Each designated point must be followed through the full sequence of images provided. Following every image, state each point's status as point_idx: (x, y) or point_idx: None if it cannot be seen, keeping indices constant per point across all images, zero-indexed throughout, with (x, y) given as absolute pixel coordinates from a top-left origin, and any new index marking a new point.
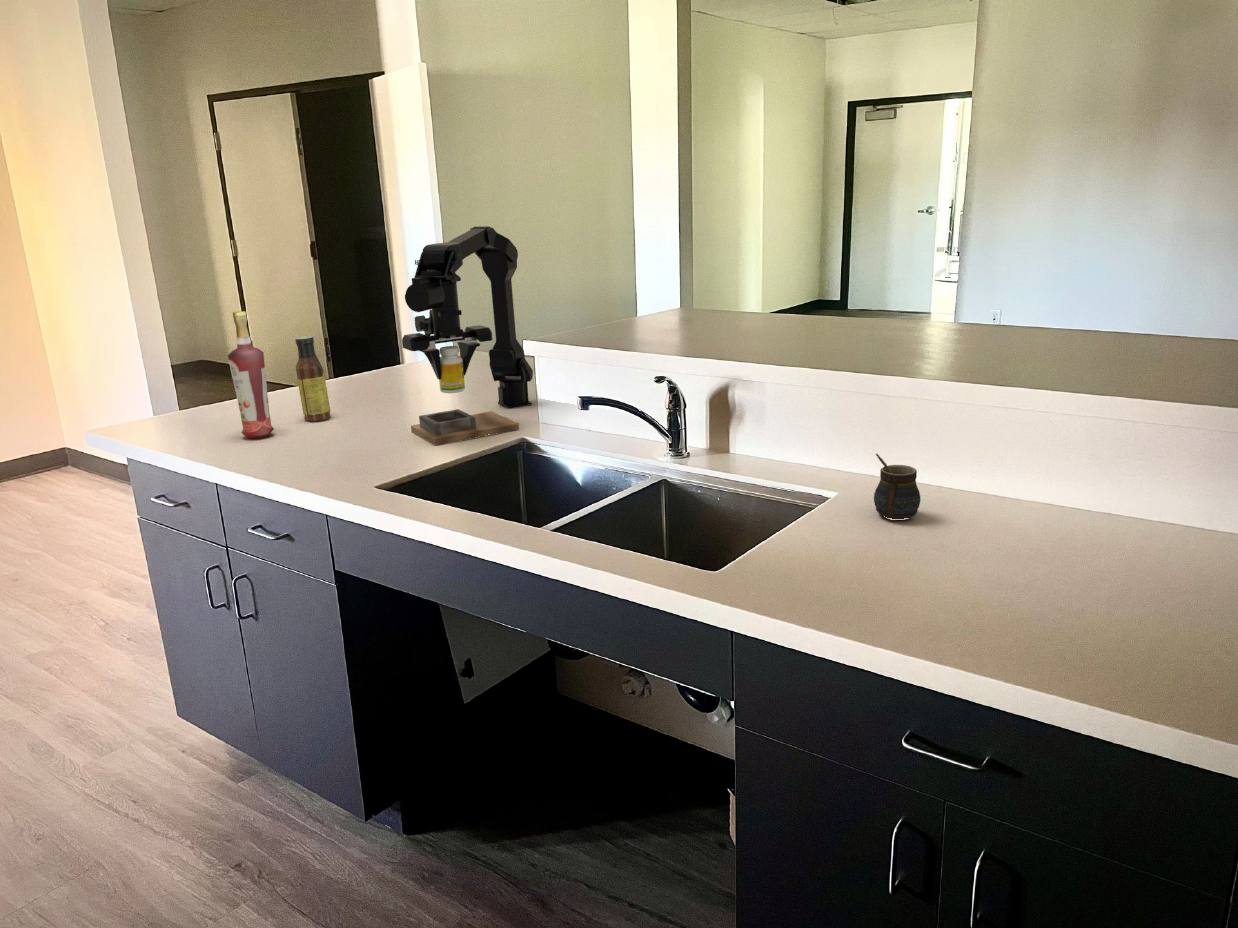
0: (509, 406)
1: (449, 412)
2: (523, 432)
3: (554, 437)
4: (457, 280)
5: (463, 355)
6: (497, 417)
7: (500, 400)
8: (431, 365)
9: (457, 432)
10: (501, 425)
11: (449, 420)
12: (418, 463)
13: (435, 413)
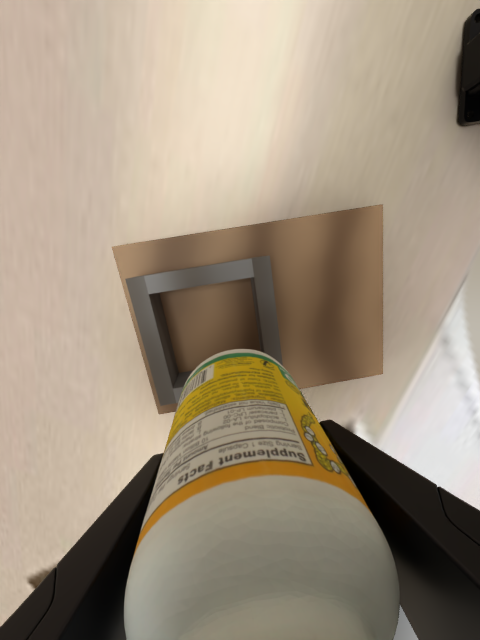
0: (466, 121)
1: (232, 280)
2: (370, 389)
3: (403, 449)
4: None
5: (443, 632)
6: (365, 290)
7: (475, 53)
8: (68, 560)
9: None
10: (340, 373)
11: None
12: (113, 498)
13: (184, 275)
